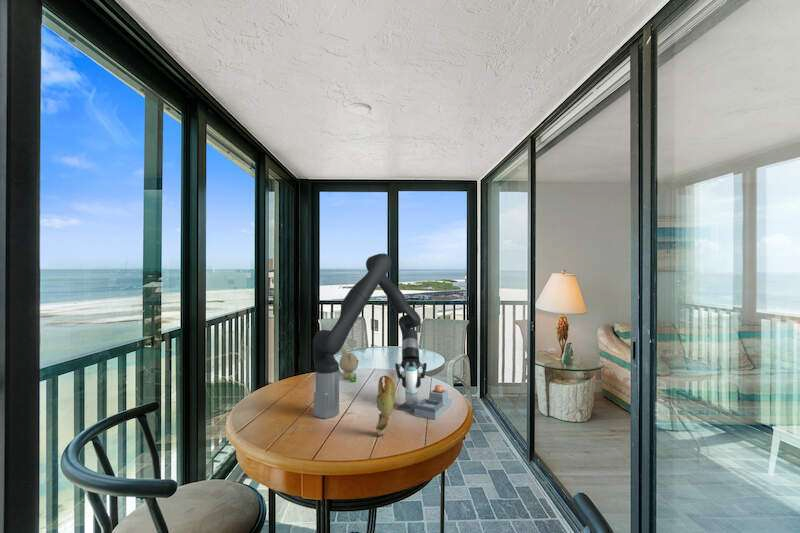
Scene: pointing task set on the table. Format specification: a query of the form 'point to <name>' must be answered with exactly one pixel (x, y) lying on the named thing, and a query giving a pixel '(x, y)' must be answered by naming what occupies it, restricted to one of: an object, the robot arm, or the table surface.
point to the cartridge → (411, 385)
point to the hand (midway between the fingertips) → (411, 386)
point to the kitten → (348, 365)
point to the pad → (407, 407)
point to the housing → (433, 405)
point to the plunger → (438, 389)
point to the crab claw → (385, 403)
